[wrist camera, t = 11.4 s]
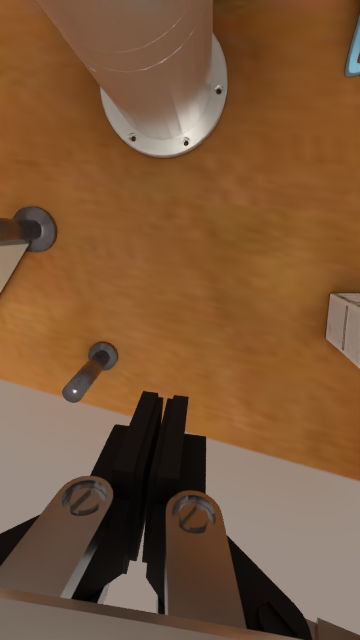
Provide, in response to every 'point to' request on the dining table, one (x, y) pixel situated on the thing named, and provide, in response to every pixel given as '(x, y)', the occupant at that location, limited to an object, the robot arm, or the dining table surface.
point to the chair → (354, 54)
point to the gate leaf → (10, 258)
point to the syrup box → (345, 324)
